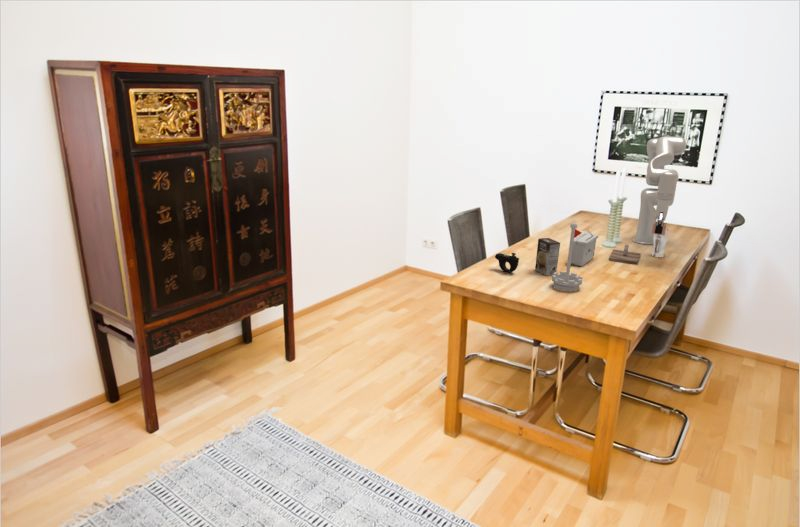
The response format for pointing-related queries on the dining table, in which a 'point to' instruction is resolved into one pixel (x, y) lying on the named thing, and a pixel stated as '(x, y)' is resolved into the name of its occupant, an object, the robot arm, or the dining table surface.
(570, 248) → the flag stand
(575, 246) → the stereo radio cassette player
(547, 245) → the coffee box
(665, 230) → the bead
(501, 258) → the controller
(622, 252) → the brown peg stand
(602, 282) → the dining table surface
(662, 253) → the beer glass
